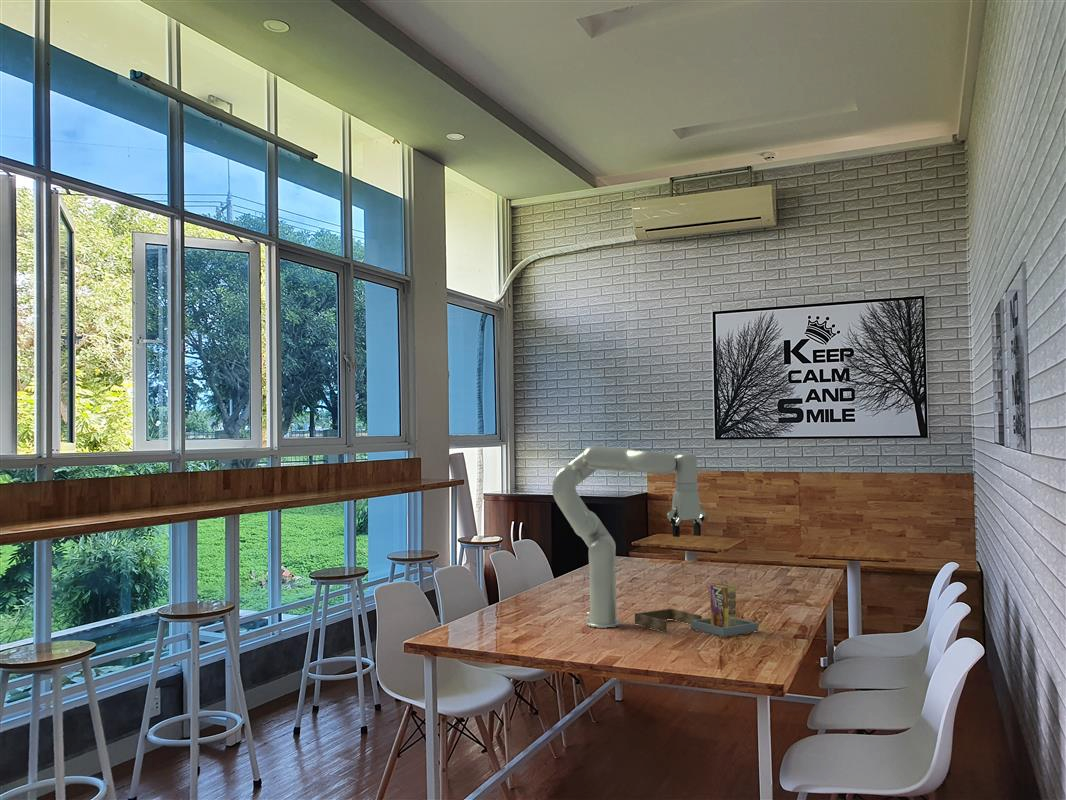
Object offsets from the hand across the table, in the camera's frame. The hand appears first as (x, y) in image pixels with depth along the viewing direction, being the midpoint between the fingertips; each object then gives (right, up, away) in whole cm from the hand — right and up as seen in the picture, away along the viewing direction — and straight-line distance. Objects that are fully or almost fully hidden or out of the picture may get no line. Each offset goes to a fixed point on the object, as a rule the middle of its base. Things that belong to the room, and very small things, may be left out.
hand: (686, 536), depth 292 cm
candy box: (+11, -31, -10) cm, 34 cm away
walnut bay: (-7, -32, -1) cm, 33 cm away
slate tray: (+11, -31, -10) cm, 34 cm away
